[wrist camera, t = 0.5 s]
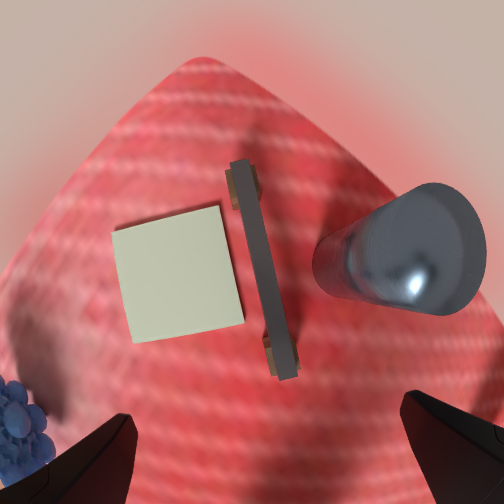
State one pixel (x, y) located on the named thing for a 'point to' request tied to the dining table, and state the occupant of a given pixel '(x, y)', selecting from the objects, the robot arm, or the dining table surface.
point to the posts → (236, 206)
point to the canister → (408, 254)
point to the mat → (176, 276)
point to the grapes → (21, 435)
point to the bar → (263, 270)
